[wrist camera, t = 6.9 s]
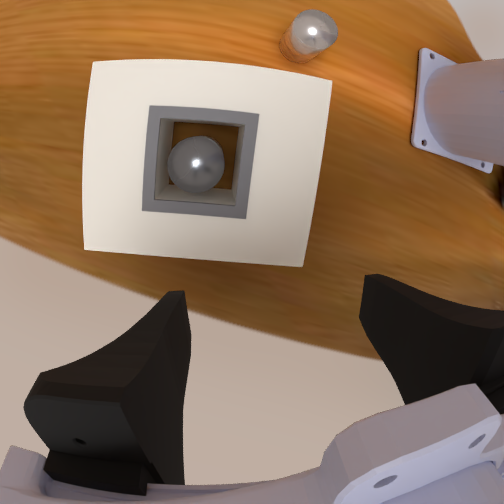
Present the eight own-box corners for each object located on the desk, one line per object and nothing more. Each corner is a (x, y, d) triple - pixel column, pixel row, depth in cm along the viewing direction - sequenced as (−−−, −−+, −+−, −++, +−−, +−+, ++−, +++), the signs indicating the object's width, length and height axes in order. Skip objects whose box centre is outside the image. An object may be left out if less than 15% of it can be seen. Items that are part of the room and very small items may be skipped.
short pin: (317, 35, 16) (339, 16, 12) (314, 66, 17) (336, 52, 13) (281, 27, 16) (296, 5, 12) (277, 59, 17) (291, 42, 13)
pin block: (308, 91, 18) (333, 80, 13) (286, 239, 21) (303, 268, 17) (119, 75, 16) (91, 61, 12) (109, 225, 19) (83, 250, 15)
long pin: (224, 136, 18) (226, 137, 12) (221, 174, 19) (223, 193, 13) (185, 135, 18) (168, 136, 12) (183, 173, 19) (166, 192, 13)
